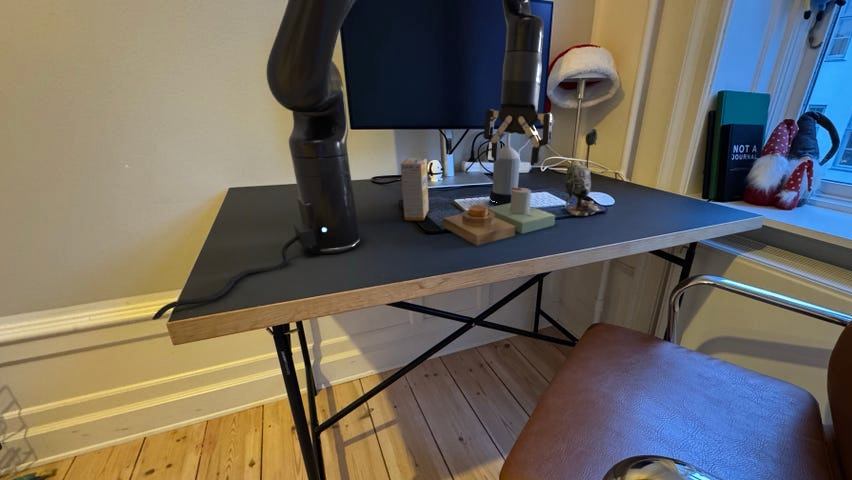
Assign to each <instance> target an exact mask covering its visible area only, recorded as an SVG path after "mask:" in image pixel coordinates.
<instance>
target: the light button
mask: <svg viewBox="0 0 852 480" xmlns="http://www.w3.org/2000/svg"><path fill="white" fill-rule="evenodd" d="M488 208H489V207H488V206H487V205H482V204H475V205H474V204H473V205H470V206H469V207H468V210H469V216H472V217H485V216H488Z"/></svg>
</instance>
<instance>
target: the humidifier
mask: <svg viewBox="0 0 852 480" xmlns="http://www.w3.org/2000/svg"><path fill="white" fill-rule="evenodd" d="M510 142H511V133H509V132H507V133H506V134H505V144H504V146H503V147H500V160H499V161H494V160H493V169H492V170H493V171H492V190H491V191H490V193H489V204H490V205H491V206H493V207H494V206H499V205H504V204H509V203H511V194H512V188H519V177H520V162H521V159H520V154H519V153H518V151H517V150H515V149H514V148H513V147H511V144H510ZM490 199H491V200H492V201H495V202H492V201H491V200H490ZM496 202H497V203H496Z"/></svg>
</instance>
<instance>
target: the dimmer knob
mask: <svg viewBox="0 0 852 480" xmlns="http://www.w3.org/2000/svg"><path fill="white" fill-rule="evenodd" d="M531 197H532V190H531V189H530V188H526V187H518V188H512V194H511V212H512V213H516V214H526V213H529V210H530V206H531Z"/></svg>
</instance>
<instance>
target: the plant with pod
mask: <svg viewBox="0 0 852 480" xmlns="http://www.w3.org/2000/svg"><path fill="white" fill-rule="evenodd" d="M597 130H598V129H596V128H592V129H590V130H588V131H587V133H586V134H585V144H586V145H587V152H586V153H587V154H586V155H587V156H586V165H583V164H576V163H574V164H572V165H569V166H567V168H566V175H565V181H564V191H565V193H567V194H568V197H567V199H566V200H565V205H564V209H565V210H566V212H568V214H570V215H573V216H576V217H578V216H579V217H586V216H590V215H591V216H592V215H594V214H595V213H597V212H599V211H602V209H601V208H600V207H599V205H595V201H594V200H587V196H589V194H590V193H591V187H592V177H591V170H590V169H589V157H590V147H591V146H593V145H594V146H596V145H597V142H596V141H597V140H598V132H597ZM573 196H574V197H575V199H576V205H573V206H572V205H570V206H568V204H569V203H570V201H571V198H572V197H573ZM583 199H584V200H583ZM567 206H568V207H567Z"/></svg>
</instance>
